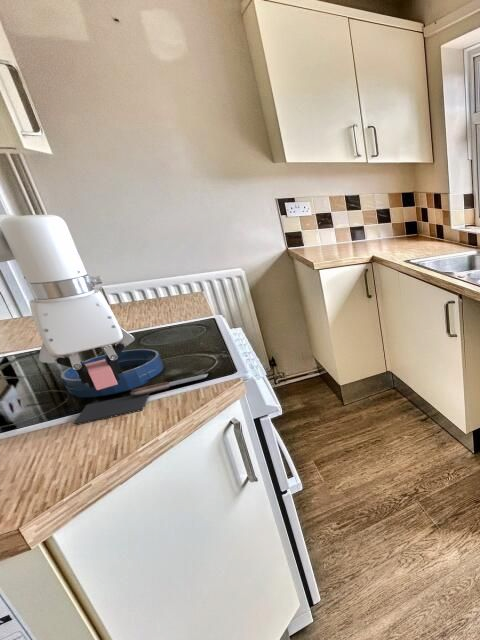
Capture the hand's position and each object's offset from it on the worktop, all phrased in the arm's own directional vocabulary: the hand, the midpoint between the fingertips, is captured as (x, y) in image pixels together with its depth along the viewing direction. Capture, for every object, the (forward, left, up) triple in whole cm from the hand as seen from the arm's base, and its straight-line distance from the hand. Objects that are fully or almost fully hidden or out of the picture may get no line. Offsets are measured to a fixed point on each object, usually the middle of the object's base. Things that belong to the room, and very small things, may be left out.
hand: (104, 380), depth 80 cm
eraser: (0, 0, 0) cm, 0 cm away
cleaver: (+8, +5, -6) cm, 12 cm away
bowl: (-2, +15, -6) cm, 16 cm away
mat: (0, 0, -6) cm, 6 cm away
